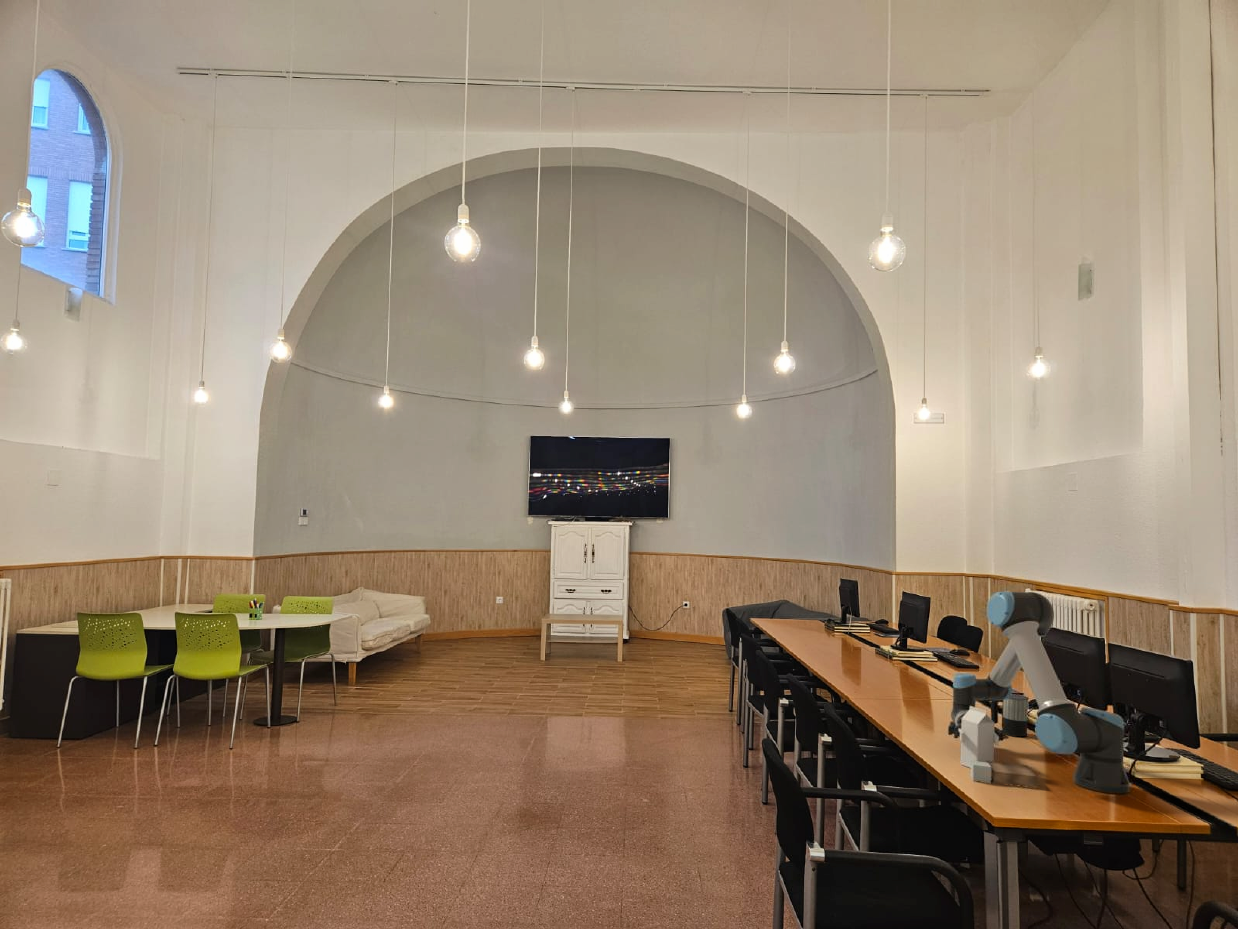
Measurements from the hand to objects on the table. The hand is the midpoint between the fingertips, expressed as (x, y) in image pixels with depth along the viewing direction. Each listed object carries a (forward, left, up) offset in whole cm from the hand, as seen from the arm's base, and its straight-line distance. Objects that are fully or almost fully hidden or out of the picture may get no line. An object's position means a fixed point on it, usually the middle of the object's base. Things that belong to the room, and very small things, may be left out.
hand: (979, 739), depth 268 cm
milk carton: (0, -4, -10) cm, 11 cm away
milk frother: (-20, -58, -10) cm, 62 cm away
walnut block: (-8, +7, -11) cm, 15 cm away
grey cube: (+1, +11, -10) cm, 15 cm away
